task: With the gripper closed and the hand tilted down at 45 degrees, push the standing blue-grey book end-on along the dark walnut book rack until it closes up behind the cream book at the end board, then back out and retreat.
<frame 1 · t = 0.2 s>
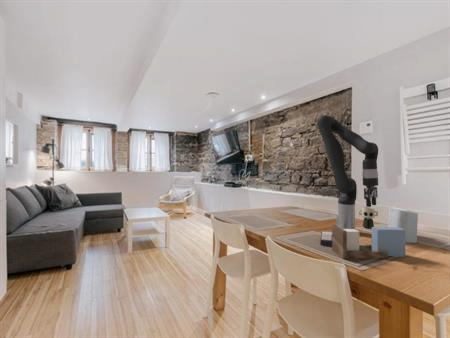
hand: (371, 205, 135), 18 cm above the table, tool pointing down, fingers open, 8 cm apart
character mug: (368, 227, 157), on the table
skincare box: (401, 238, 134), on the table
shelved book: (348, 254, 108), resting in book rack
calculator: (332, 243, 125), on the table
book rack: (367, 254, 107), on the table
loose book: (388, 255, 107), on the table
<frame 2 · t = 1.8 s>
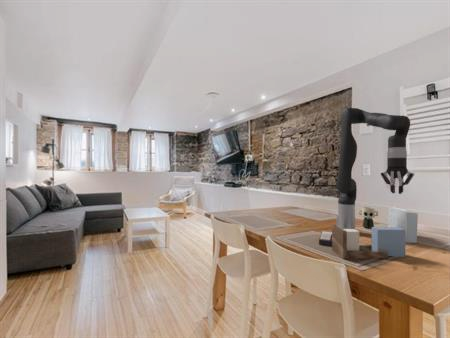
hand: (396, 193, 114), 27 cm above the table, tool pointing down, fingers closed
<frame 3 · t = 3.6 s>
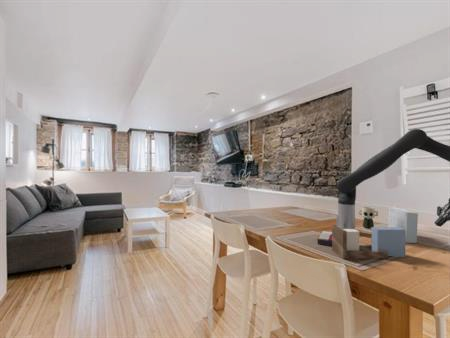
hand: (437, 224, 107), 14 cm above the table, tool tilted 45°, fingers closed
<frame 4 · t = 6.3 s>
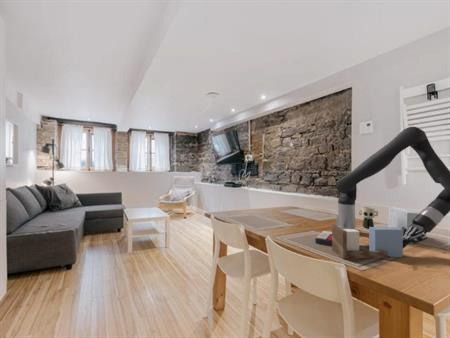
hand: (400, 246, 107), 4 cm above the table, tool tilted 45°, fingers closed
loose book: (385, 254, 107), on the table, touching gripper
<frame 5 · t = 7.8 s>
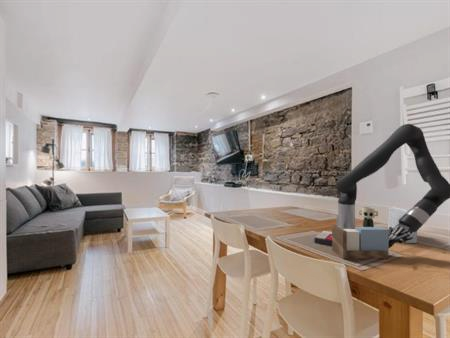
hand: (386, 246, 107), 4 cm above the table, tool tilted 45°, fingers closed
loose book: (371, 254, 107), resting in book rack, touching gripper
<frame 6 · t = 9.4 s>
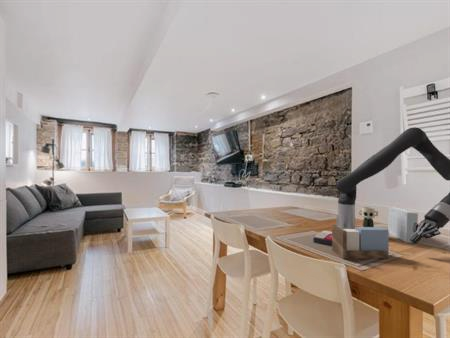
hand: (412, 241, 107), 6 cm above the table, tool tilted 45°, fingers closed
loose book: (371, 255, 107), resting in book rack
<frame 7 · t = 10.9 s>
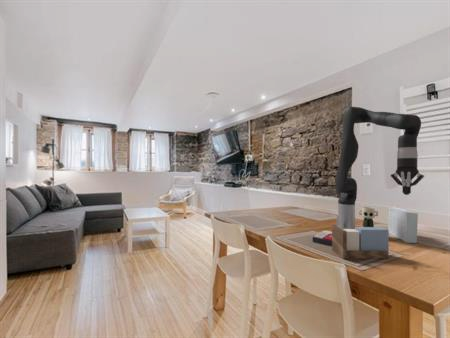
hand: (406, 194, 111), 27 cm above the table, tool pointing down, fingers closed
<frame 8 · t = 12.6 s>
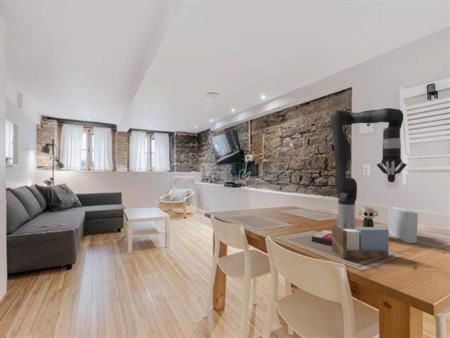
hand: (391, 182, 121), 32 cm above the table, tool pointing down, fingers closed
at the end: loose book 0.4 cm from the target spot, resting in book rack; loose book tilted 0°; loose book moved 7.4 cm from its start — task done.
